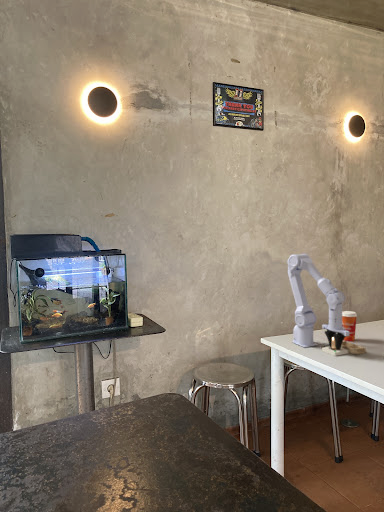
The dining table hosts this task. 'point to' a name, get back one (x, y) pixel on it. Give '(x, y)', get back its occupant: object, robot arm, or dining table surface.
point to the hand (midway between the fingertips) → (335, 347)
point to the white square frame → (335, 353)
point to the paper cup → (349, 324)
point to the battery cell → (333, 344)
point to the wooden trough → (353, 348)
